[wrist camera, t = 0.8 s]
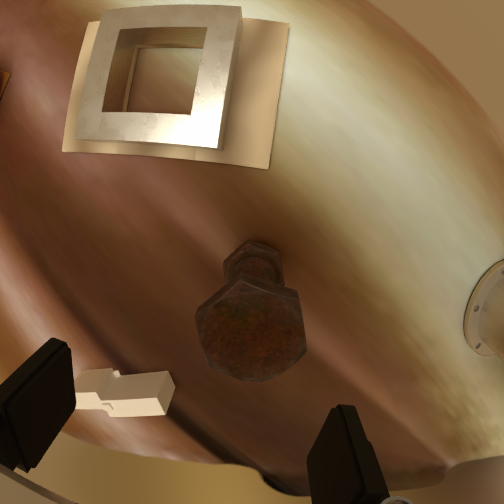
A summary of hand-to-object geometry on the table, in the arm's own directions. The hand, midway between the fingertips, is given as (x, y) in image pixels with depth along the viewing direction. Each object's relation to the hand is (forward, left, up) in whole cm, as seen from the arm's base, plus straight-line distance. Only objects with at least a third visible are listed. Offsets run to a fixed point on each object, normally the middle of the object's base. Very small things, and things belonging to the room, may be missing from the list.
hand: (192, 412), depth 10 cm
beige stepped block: (+11, +16, -21) cm, 29 cm away
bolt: (-2, 0, -21) cm, 21 cm away
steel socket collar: (+8, -15, -20) cm, 27 cm away
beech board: (+8, -15, -20) cm, 27 cm away
